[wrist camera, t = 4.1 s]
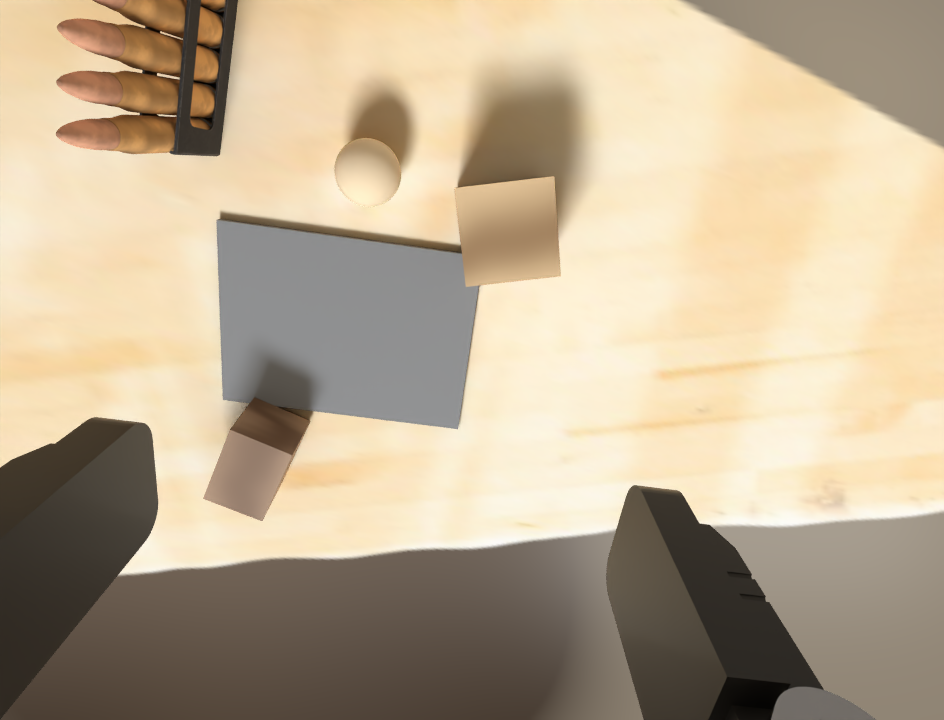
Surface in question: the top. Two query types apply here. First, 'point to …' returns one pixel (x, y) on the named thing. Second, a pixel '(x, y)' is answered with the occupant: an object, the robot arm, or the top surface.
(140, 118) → the ammunition clip
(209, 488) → the walnut block
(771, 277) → the top surface
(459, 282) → the pad
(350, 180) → the cork ball
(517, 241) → the oak block
